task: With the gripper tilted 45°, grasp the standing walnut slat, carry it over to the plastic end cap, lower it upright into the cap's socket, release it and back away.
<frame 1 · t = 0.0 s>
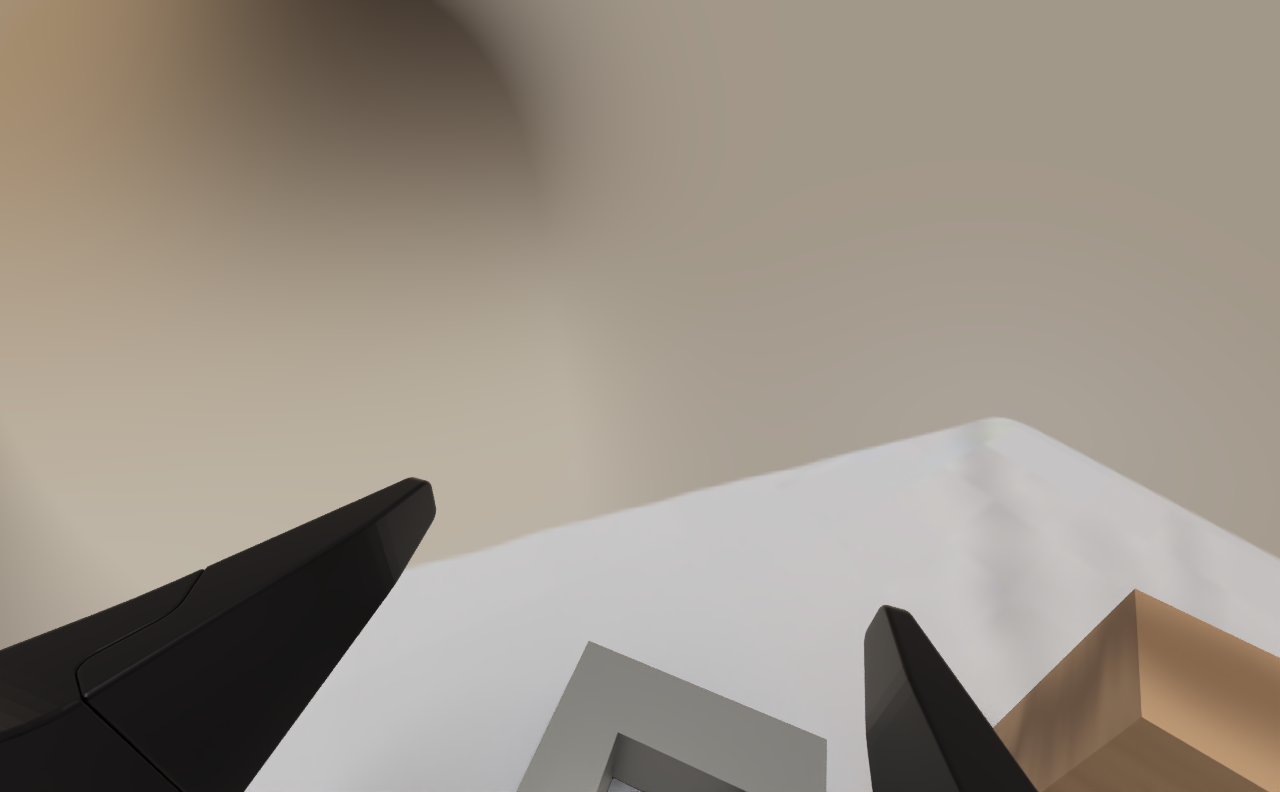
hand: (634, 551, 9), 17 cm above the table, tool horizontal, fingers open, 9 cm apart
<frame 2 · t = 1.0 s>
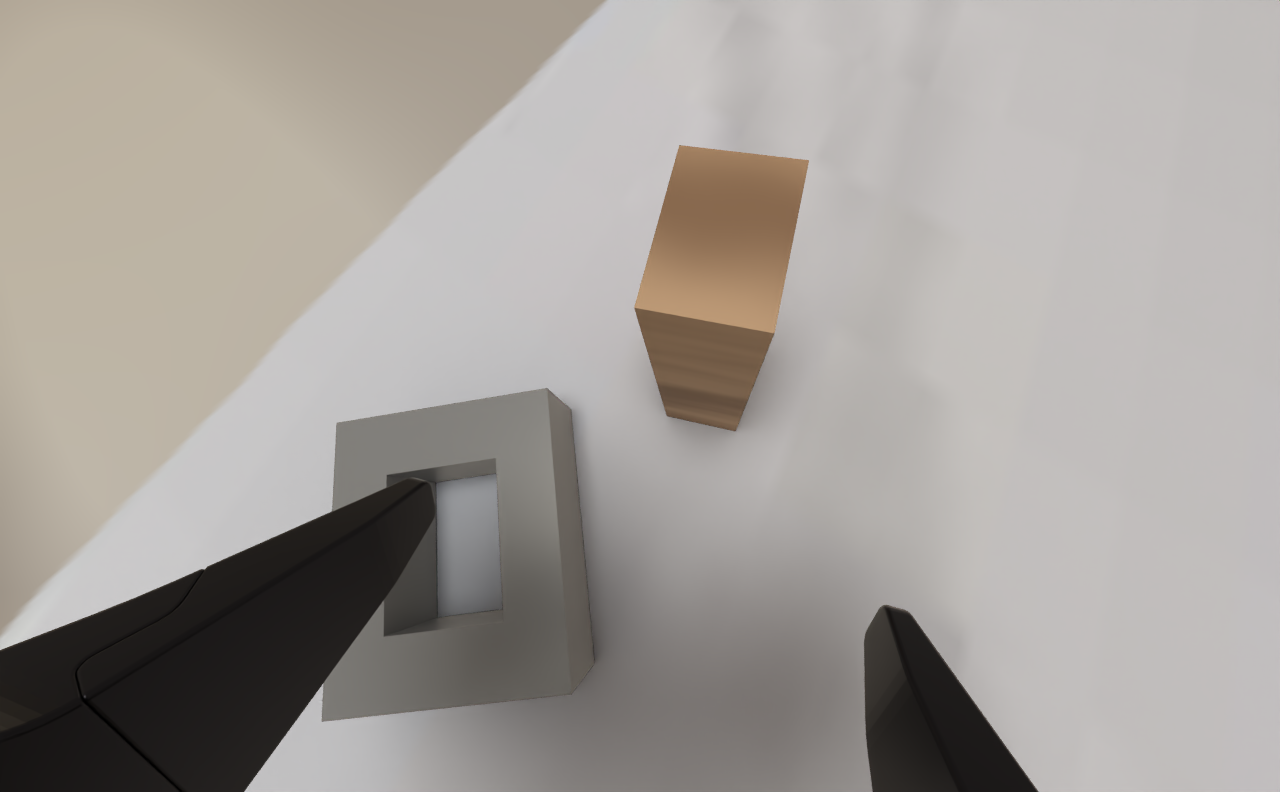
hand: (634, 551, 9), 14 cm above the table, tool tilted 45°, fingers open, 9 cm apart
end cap: (484, 540, 23), on the table
walnut slat: (711, 377, 24), on the table
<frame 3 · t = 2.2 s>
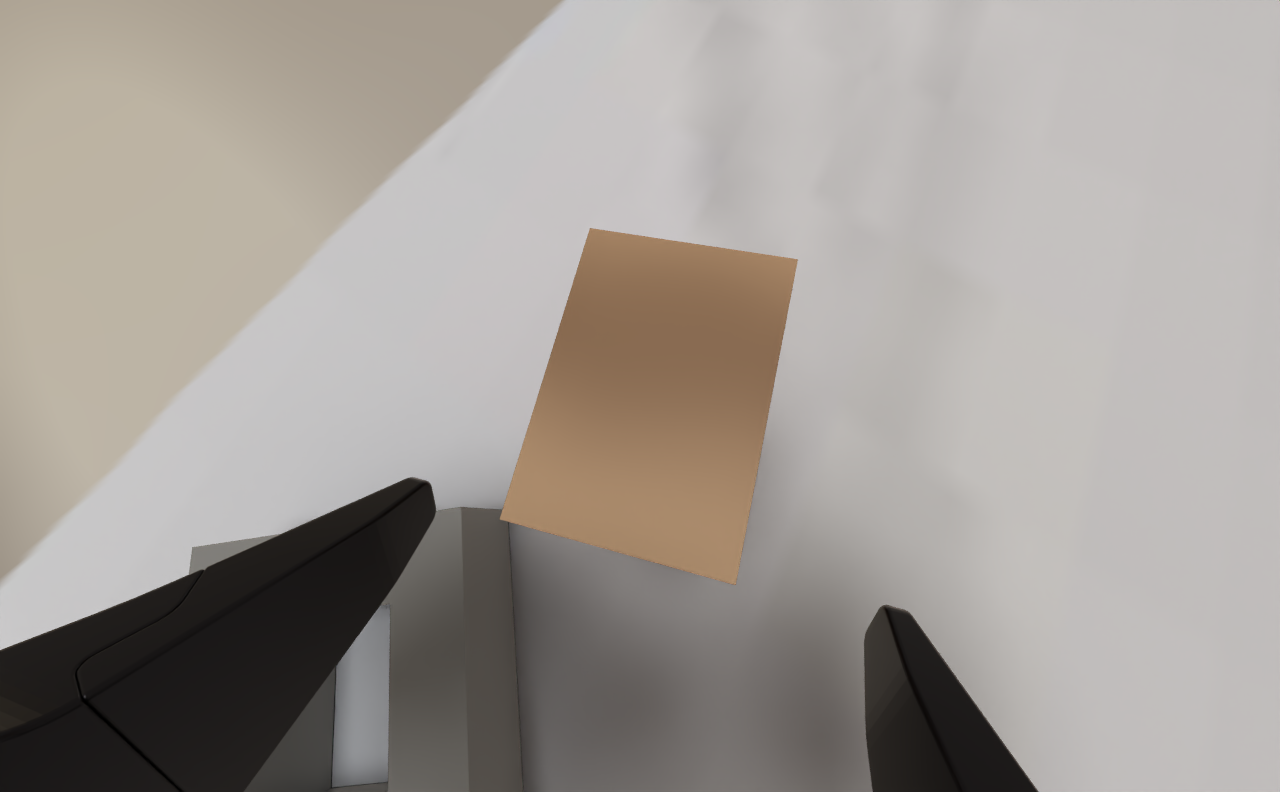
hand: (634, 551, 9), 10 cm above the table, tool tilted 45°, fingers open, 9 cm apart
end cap: (393, 684, 18), on the table
walnut slat: (682, 471, 19), on the table
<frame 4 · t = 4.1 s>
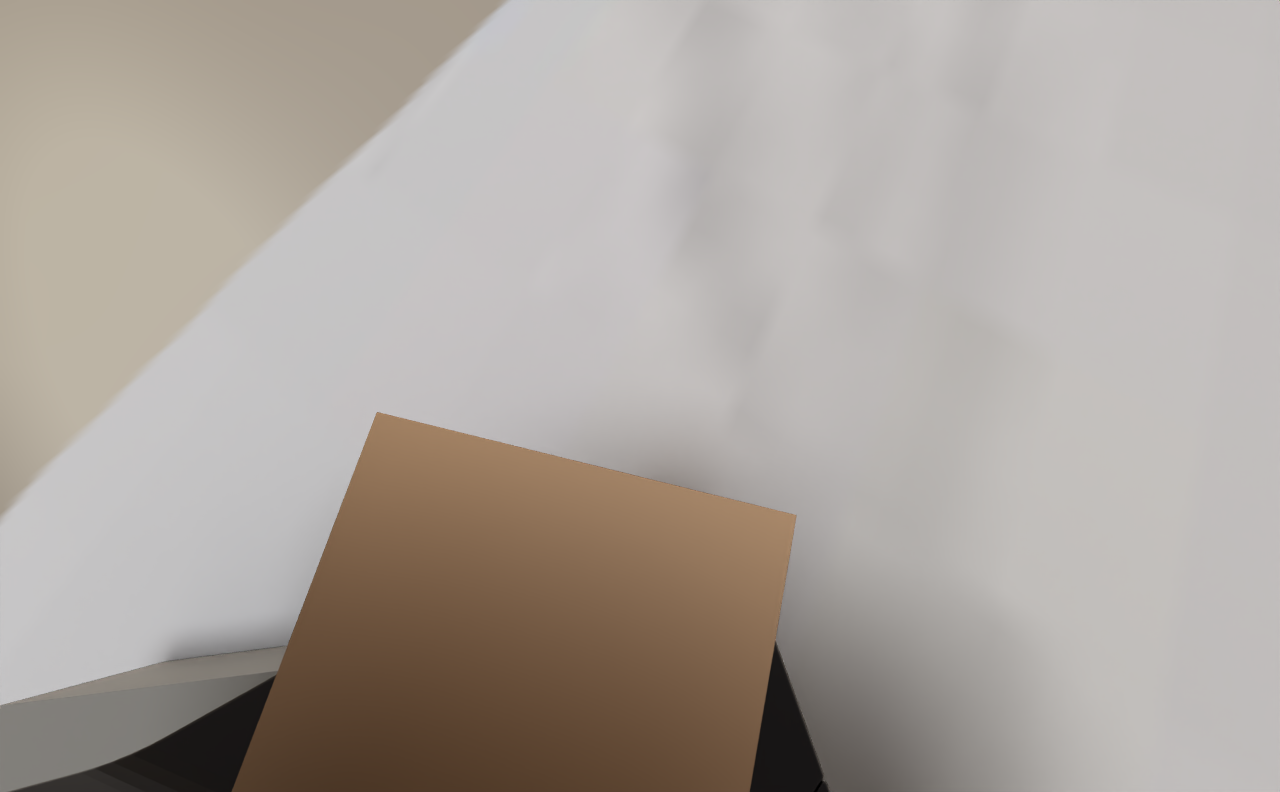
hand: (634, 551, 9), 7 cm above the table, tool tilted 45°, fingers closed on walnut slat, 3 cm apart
walnut slat: (651, 581, 15), on the table, touching gripper
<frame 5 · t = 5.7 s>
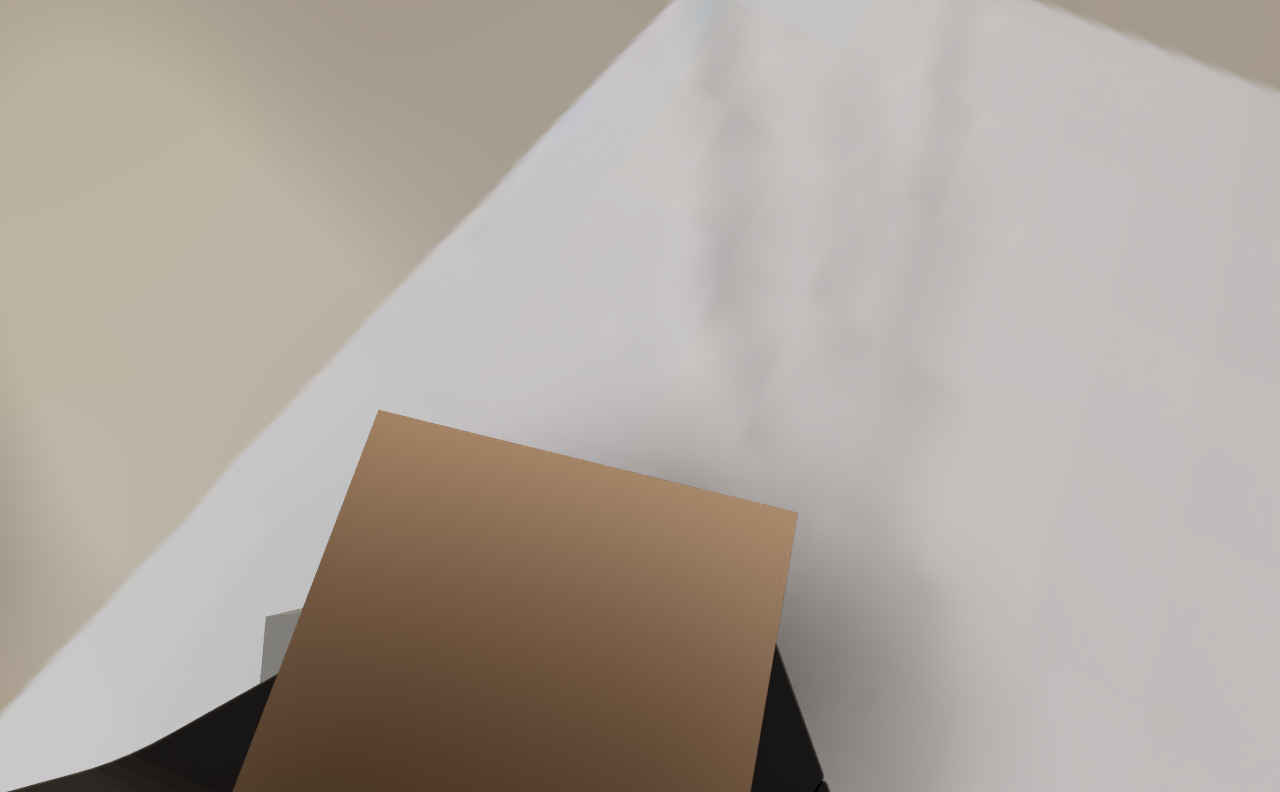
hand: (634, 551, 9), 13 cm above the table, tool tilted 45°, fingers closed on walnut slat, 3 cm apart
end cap: (432, 730, 21), on the table
walnut slat: (652, 580, 15), point 7 cm above the table, touching gripper
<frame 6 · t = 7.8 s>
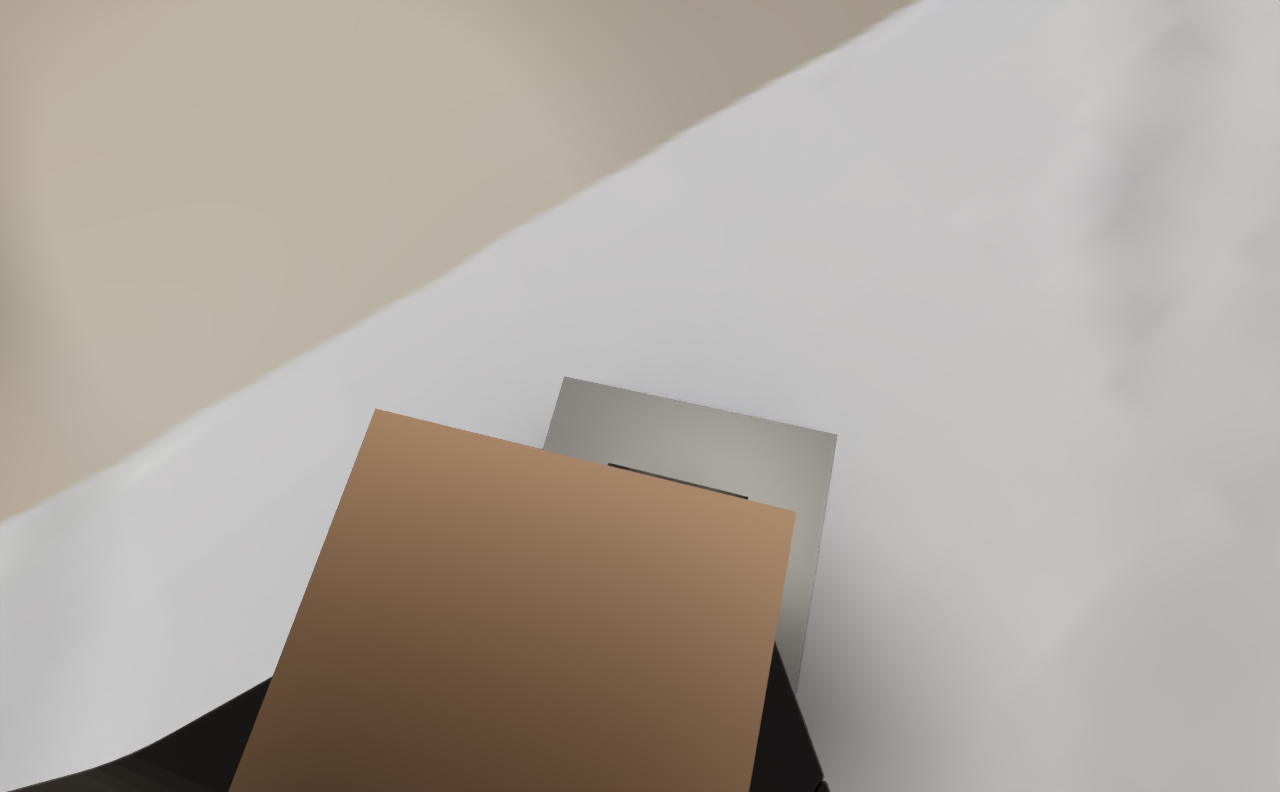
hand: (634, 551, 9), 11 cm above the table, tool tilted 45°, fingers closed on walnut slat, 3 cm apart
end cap: (663, 563, 19), on the table
walnut slat: (651, 580, 15), point 4 cm above the table, touching gripper
when the fingers open (8 cm above the table, at t = 8.7 s): walnut slat drops 1 cm, resting in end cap.
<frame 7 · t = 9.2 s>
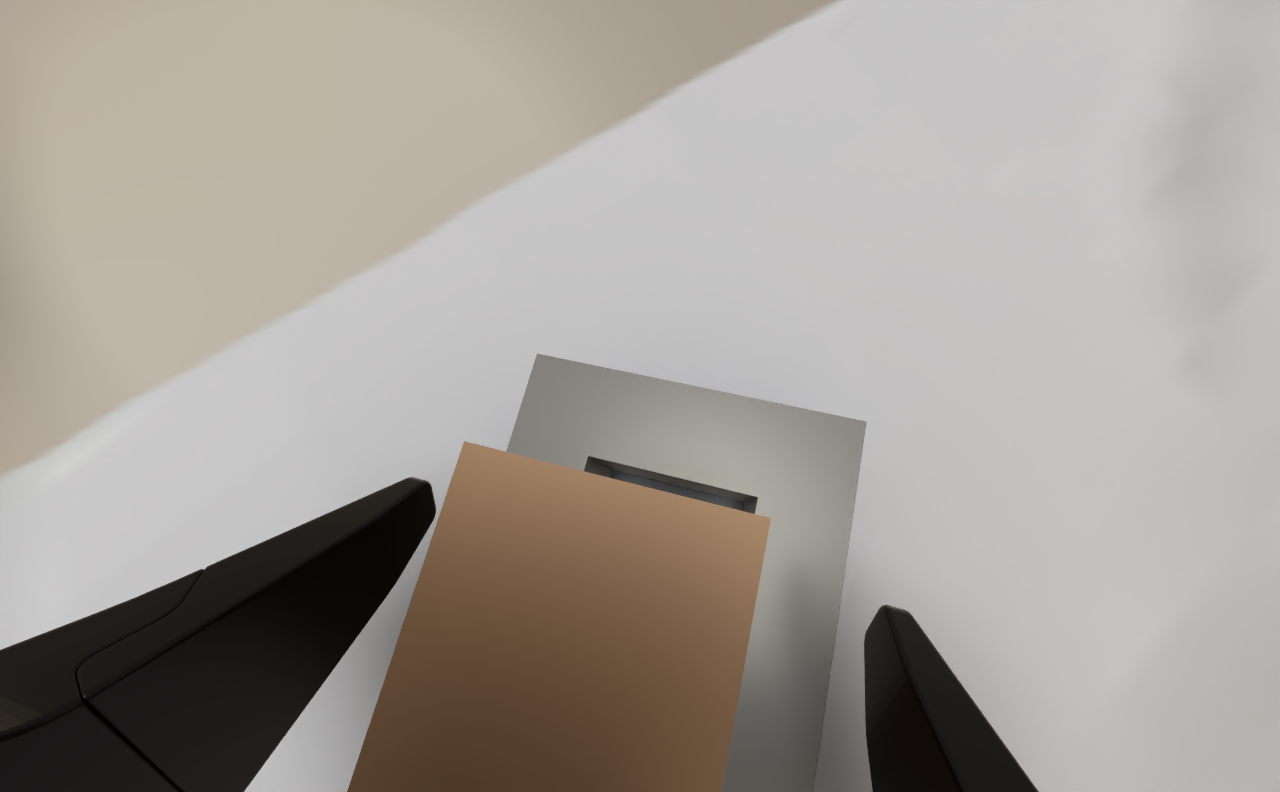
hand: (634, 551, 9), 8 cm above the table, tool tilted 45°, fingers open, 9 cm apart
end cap: (656, 575, 17), on the table
walnut slat: (656, 575, 17), resting in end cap
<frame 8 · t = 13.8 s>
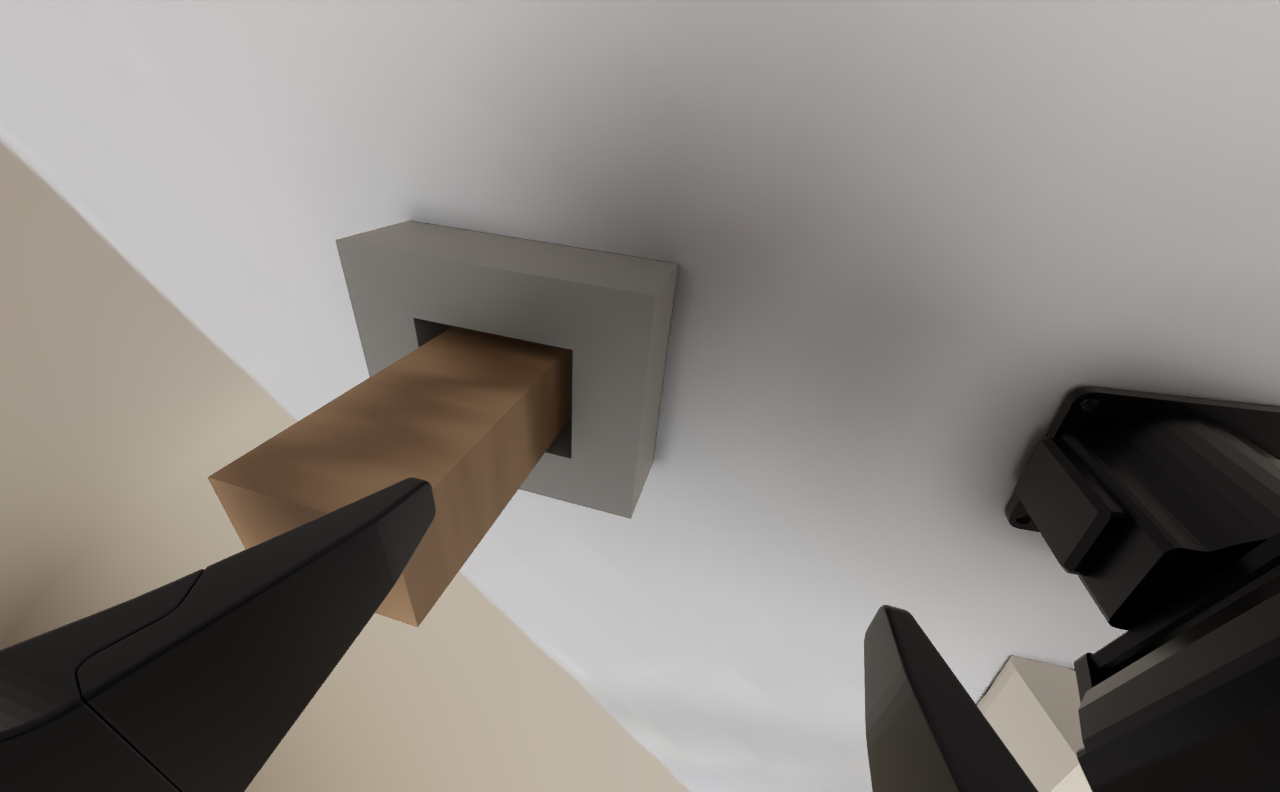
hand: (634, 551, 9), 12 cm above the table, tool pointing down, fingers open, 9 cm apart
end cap: (539, 350, 22), on the table
walnut slat: (539, 349, 22), resting in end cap
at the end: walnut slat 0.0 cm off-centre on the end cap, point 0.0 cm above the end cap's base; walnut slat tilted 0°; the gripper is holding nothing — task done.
